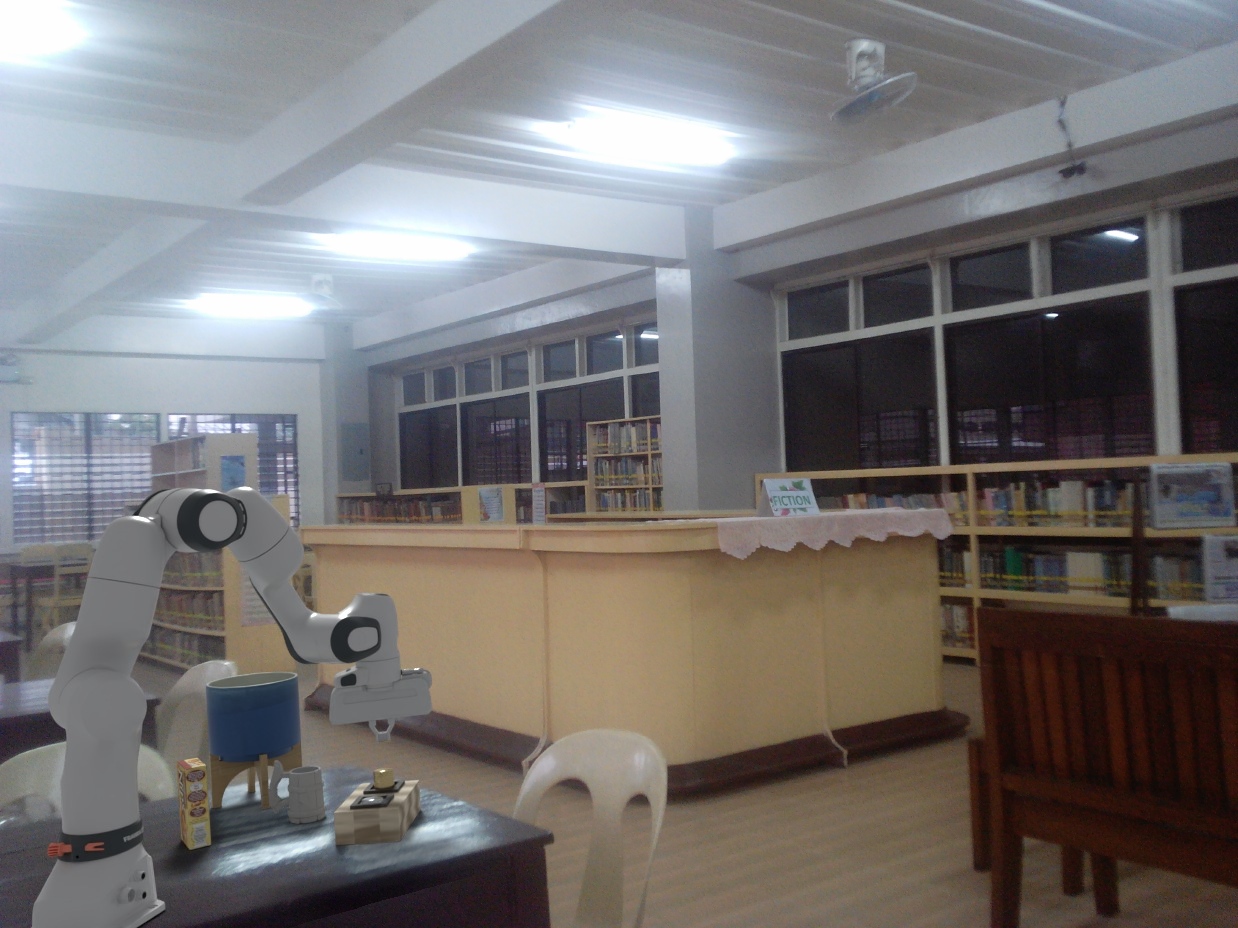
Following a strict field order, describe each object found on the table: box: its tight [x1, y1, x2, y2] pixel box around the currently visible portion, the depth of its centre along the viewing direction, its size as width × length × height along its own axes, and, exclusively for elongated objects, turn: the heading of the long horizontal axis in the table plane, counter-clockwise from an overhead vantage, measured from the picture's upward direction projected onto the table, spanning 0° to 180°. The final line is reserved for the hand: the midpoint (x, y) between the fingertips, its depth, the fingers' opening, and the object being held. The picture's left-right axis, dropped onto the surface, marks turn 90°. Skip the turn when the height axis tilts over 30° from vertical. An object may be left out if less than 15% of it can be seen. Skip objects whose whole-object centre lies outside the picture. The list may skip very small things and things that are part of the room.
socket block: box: [333, 779, 422, 846], centre depth 204 cm, size 20×12×7 cm, turn 0°
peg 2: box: [372, 767, 395, 789], centre depth 209 cm, size 4×4×6 cm
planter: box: [205, 671, 303, 810], centre depth 231 cm, size 19×19×26 cm
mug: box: [268, 760, 327, 825], centre depth 214 cm, size 8×12×12 cm, turn 85°
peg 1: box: [362, 796, 383, 804], centre depth 199 cm, size 4×4×6 cm
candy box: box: [176, 757, 212, 851], centre depth 202 cm, size 9×4×15 cm, turn 33°
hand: (383, 741), depth 210 cm, fingers closed
